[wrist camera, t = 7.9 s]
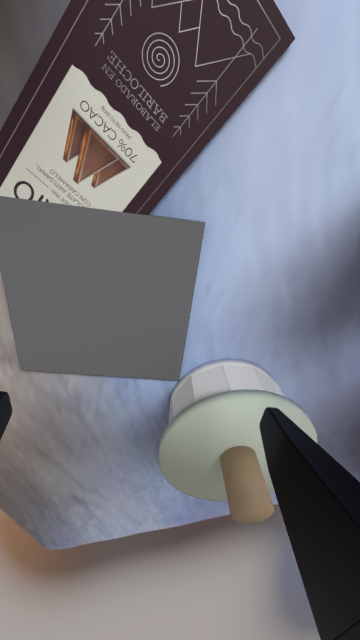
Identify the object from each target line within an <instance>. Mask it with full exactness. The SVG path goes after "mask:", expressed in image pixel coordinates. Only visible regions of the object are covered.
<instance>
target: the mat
mask: <svg viewBox="0 0 360 640" xmlns="http://www.w3.org/2000/svg"><path fill="white" fill-rule="evenodd" d="M204 227H205V223H204V222H200V221H192V220H185V219H177V218H170V217H162V216H155V215H141V214H133V213H126V212H118V211H110V210H103V209H95V208H88V207H80V206H73V205H65V204H58V203H50V202H42V201H35V200H27V199H20V198H12V197H5V196H0V267H1V272H2V277H3V282H4V287H5V292H6V297H7V302H8V307H9V312H10V317H11V322H12V327H13V332H14V337H15V342H16V347H17V352H18V357H19V362H20V367H21V370H25V371H40V372H55V373H70V374H85V375H99V376H114V377H129V378H144V379H159V380H174V381H179V379H180V373H181V366H182V360H183V354H184V348H185V342H186V336H187V330H188V324H189V318H190V312H191V306H192V300H193V294H194V288H195V282H196V276H197V269H198V263H199V257H200V251H201V245H202V239H203V233H204Z"/></svg>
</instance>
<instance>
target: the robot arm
mask: <svg viewBox="0 0 360 640" xmlns="http://www.w3.org/2000/svg"><path fill="white" fill-rule="evenodd" d="M11 414H12V407H11V402H10V398H9V394H8V393H7V392H4V391H0V440H1V438H2V435H3V433H4V431H5V429H6V426H7V424H8V422H9V420H10V417H11ZM260 433H261V438H262V443H263V447H264V452H265V457H266V462H267V467H268V471H269V474H270V478H271V481H272V484H273V488H274V491H275V494H276V497H277V500H278V504H279V506H280V510H281V513H282V516H283V520H284V523H285V526H286V529H287V533H288V536H289V539H290V542H291V545H292V549H293V552H294V555H295V558H296V561H297V565H298V568H299V571H300V574H301V577H302V581H303V584H304V587H305V590H306V593H307V597H308V600H309V603H310V606H311V610H312V613H313V616H314V619H315V622H316V625H317V629H318V632H319V635H320V638H321V640H360V482H359V481H358V480H357V479H356V478H355V477H353V476H352V475H351V474H350V473H349V472H348V471H347V470H346V469H345V468H344V467H342V466H341V465H340V464H339V463H338V462H337V461H336V460H335V459H334V458H333V457H331V456H330V455H329V454H328V453H327V452H326V451H325V450H324V449H323V448H322V447H320V446H319V445H318V444H317V443H316V442H315V441H314V440H313V439H312V438H311V437H309V436H308V435H307V434H306V433H305V432H304V431H303V430H302V429H301V428H299V427H298V426H297V425H296V424H295V423H294V422H293V421H292V420H291V419H290V418H288V417H287V416H286V415H285V414H284V413H283V412H282V411H281V410H280V409H278V408H275V407H267V408H265V410H264V413H263V415H262V418H261V421H260Z"/></svg>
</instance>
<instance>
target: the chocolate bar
mask: <svg viewBox="0 0 360 640" xmlns="http://www.w3.org/2000/svg"><path fill="white" fill-rule="evenodd" d="M294 39H295V37H294V35H293V34H292V32H291V30H290V28H289V27H288V25H287V23H286V21H285V20H284V18H283V16H282V14H281V13H280V11H279V9H278V7H277V6H276V4H275V2H274V0H71V1H70V3H69V5H68V7H67V9H66V11H65V13H64V14H63V16H62V18H61V20H60V22H59V24H58V26H57V27H56V29H55V31H54V33H53V35H52V37H51V39H50V40H49V42H48V44H47V46H46V48H45V50H44V51H43V53H42V55H41V57H40V59H39V61H38V63H37V64H36V66H35V68H34V70H33V72H32V74H31V76H30V77H29V79H28V81H27V83H26V85H25V87H24V88H23V90H22V92H21V94H20V96H19V98H18V100H17V101H16V103H15V105H14V107H13V109H12V111H11V113H10V114H9V116H8V118H7V120H6V122H5V124H4V126H3V127H2V129H1V131H0V196H5V197H12V198H20V199H27V200H35V201H42V202H50V203H58V204H65V205H73V206H80V207H88V208H95V209H103V210H110V211H118V212H126V213H133V214H141V215H148V213H149V212H150V211H151V210H152V209H153V207H154V206H155V205H156V204H157V203H158V202H159V200H160V199H161V198H162V197H163V196H164V194H165V193H166V192H167V191H168V190H169V188H170V187H171V186H172V185H173V184H174V182H175V181H176V180H177V179H178V178H179V176H180V175H181V174H182V173H183V172H184V171H185V169H186V168H187V167H188V166H189V165H190V163H191V162H192V161H193V160H194V159H195V157H196V156H197V155H198V154H199V153H200V151H201V150H202V149H203V148H204V147H205V146H206V144H207V143H208V142H209V141H210V140H211V138H212V137H213V136H214V135H215V134H216V132H217V131H218V130H219V129H220V128H221V126H222V125H223V124H224V123H225V122H226V120H227V119H228V118H229V117H230V116H231V115H232V113H233V112H234V111H235V110H236V109H237V107H238V106H239V105H240V104H241V103H242V101H243V100H244V99H245V98H246V97H247V95H248V94H249V93H250V92H251V91H252V89H253V88H254V87H255V86H256V85H257V84H258V82H259V81H260V80H261V79H262V78H263V76H264V75H265V74H266V73H267V72H268V70H269V69H270V68H271V67H272V66H273V64H274V63H275V62H276V61H277V60H278V58H279V57H280V56H281V55H282V54H283V53H284V51H285V50H286V49H287V48H288V47H289V45H290V44H291V43H292V42H293V41H294Z"/></svg>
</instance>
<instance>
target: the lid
mask: <svg viewBox="0 0 360 640" xmlns="http://www.w3.org/2000/svg"><path fill="white" fill-rule="evenodd" d="M267 407H275V408H278V409H280V410H281V411H282V412H283V413H284V414H285V415H286V416H287V417H288V418H290V419H291V420H292V421H293V422H294V423H295V424H296V425H297V426H298V427H299V428H301V429H302V430H303V431H304V432H305V433H306V434H307V435H308V436H309V437H311V438H312V439H313V440H314V441H315V442H316V443H317V442H318V440H317V434H316V431H315V428H314V426H313V425H312V423H311V421H310V420H309V418H308V416H307V415H306V413H305V412H304V410H303V409H302V408H301V407H300V406H299V405H298V404H296V403H295V402H294V401H292V400H290V399H288V398H286V397H285V396H282V395H279V394H276V393H273V392H268V391H263V390H247V389H243V390H232V391H227V392H221V393H218V394H214V395H211V396H208V397H205V398H203V399H200V400H198V401H196V402H194V403H192V404H190V405H189V406H187V407H186V408H184V409H183V410H181V411H180V412H179V413H178V414H177V415H176V416H174V418H173V419H172V420H171V421H170V422H169V423H168V425H167V426H166V428H165V429H164V431H163V433H162V436H161V439H160V443H159V465H160V469H161V472H162V474H163V476H164V477H165V479H166V480H167V481H168V482H169V483H170V484H171V485H172V486H173V487H175V488H176V489H177V490H179V491H181V492H183V493H185V494H187V495H189V496H193V497H196V498H200V499H204V500H211V501H228V504H229V510H230V515H231V518H232V519H233V520H234V521H236V522H238V523H243V524H244V523H245V524H251V523H257V522H260V521H263V520H265V519H267V518H268V517H270V516H271V515H272V514H273V512H274V507H273V504H272V501H271V498H270V495H269V493H270V492H273V491H274V488H273V484H272V481H271V478H270V474H269V471H268V467H267V462H266V457H265V452H264V447H263V443H262V438H261V433H260V421H261V418H262V415H263V413H264V410H265V408H267Z"/></svg>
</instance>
